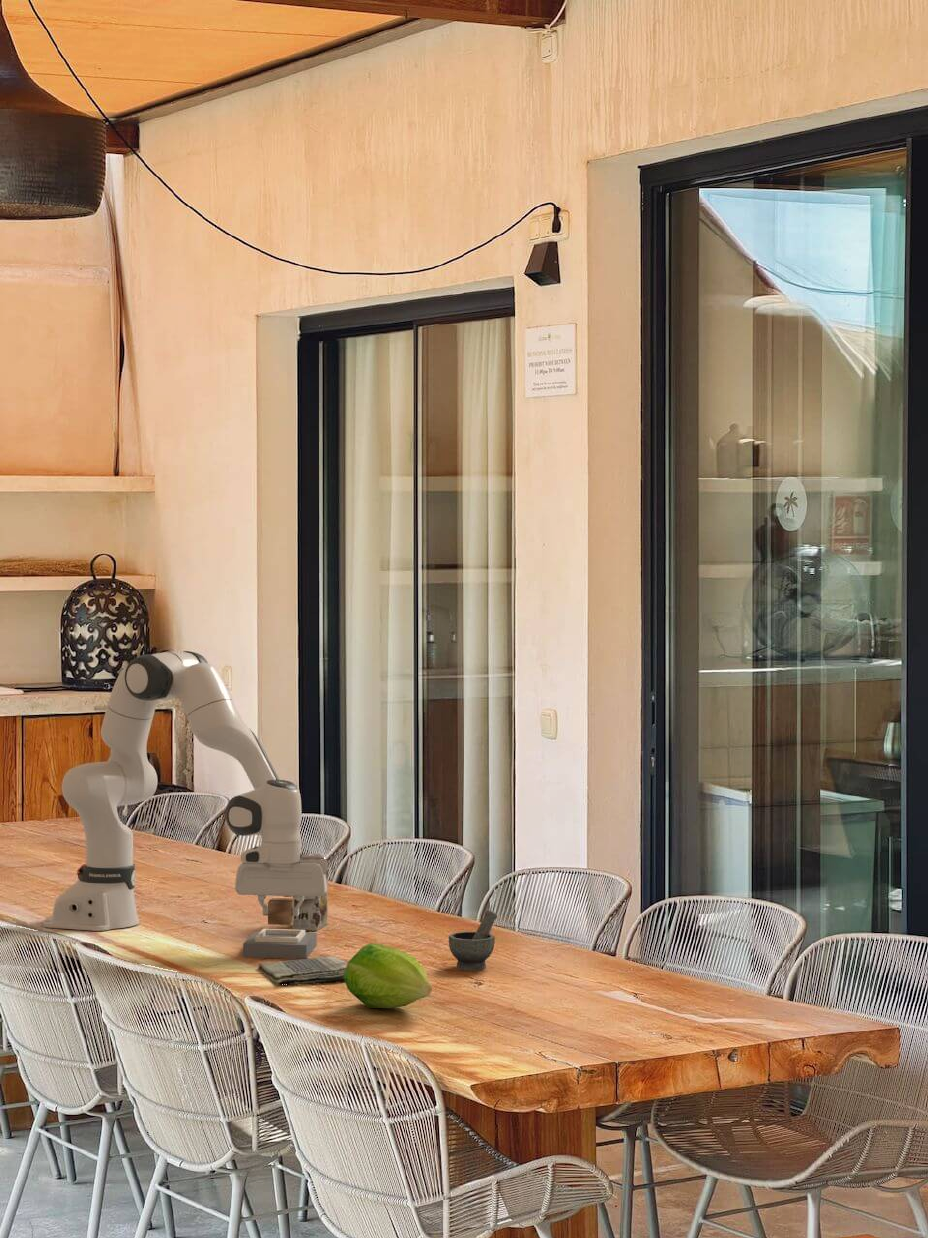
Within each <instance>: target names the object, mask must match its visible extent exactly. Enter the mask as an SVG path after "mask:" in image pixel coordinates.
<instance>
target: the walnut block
mask: <svg viewBox="0 0 928 1238" xmlns="http://www.w3.org/2000/svg"><path fill="white" fill-rule="evenodd" d="M267 906H268V915H267V925H273V926H274V925H276V926H279V925H281V926H282V925H283V926H290V925H292V924H293V921H294V916H292V915H291V913H292V912H291V908H292V907H294V899H293V897H292V898H291V897H290V898H288V897H287V898H286V897H285V898H284V897H283V898H282V897H281V898H280V897H271V899H269V900H268V901H267Z"/></svg>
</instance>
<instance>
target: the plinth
mask: <svg viewBox="0 0 928 1238" xmlns="http://www.w3.org/2000/svg"><path fill="white" fill-rule="evenodd" d="M317 934H318V933H317V932H307V931H306V930H294V929H285V928H283V929H279V928H262V929H261V931H260V930H259V931H257V930H255V931H254V932H253V933H252V934H251V935H250V936H249V937H248V938H247V939H246V940H245V941H244V942H243V943H242V946H243V947H242V957H243V958H261V959H262V958H265V959H266V958H267V959H272V958H273V959H296V960H298V959H299V960H301V959H308V958H309V956H310V955H311V954H312V952H313V951H314V950H315V948H317V943H318V941H317Z"/></svg>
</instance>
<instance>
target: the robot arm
mask: <svg viewBox="0 0 928 1238" xmlns="http://www.w3.org/2000/svg"><path fill="white" fill-rule="evenodd" d="M174 699H177V700H178V701H179V702H180V703H181V705H182V708H183V710H184V713H185V716H186V718H187V721H188V724H189V727H190V729H191V731H192V733H193V734H194V736H195V737H196V739H197V741H198V742H200V744H202V745H203V746H205V747H207V748H210V749H213V750H217V751H219V752H221V753H225V754H226V755H229V756H231V757H232V758H234V759H235V760H237V761H238V763H239V764H240V765H241V767H242V769H243V770H244V772H245V773H246V776H247V778H248V780H249V782H250V783H251V785H252V787H253V790H249V791H247V792H244V793H241V794H238V795H235V796H233V797H231V799H230V800H229V801H228V802H227V805H226V807H225V814H224V815H225V822H226V824H227V827H228V828H229V829H230V831H231V832H232V833H233V834H235V835H237V836H241V837H252V836H253V837H254V836H260V837H261V845H259V846H257V845H256V846H254V847H251V848H248V849H246V850H244V851H243V852H242V853H241V854H240V861H241V863H240V864H239V865H238V867H237V871H236V875H235V883H234V884H235V886H234V890H235V892H236V893H237V895H240V896H257V901H258V903H259V904H260V906H261V908H262V916H268V904H267V903H266V901H265V900H266V898H267V896H272V897H273V896H277V897H278V896H279V897H280V896H281V897H282V896H283V897H293V896H297V901H299V902H298V904H297V906H296V907H292V908H291V912H292V913H291V915H292V916H299V907H300V906H301V904H302V902H303V901H304V896H317V897H321V896H323V895H324V894H325V893H326V891H327V883H326V874H325V873H326V872H327V870H328V871H329V861H328V862H327V860H326V858H327V857H325V856H323V855H321V854H318V853H317V854H316V853H315V854H310V853H302V836H301V832H300V830H301V824H302V819H303V815H302V811H303V809H302V798H301V793H300V792H301V791H300V788H299V787H298V785H297V784H295V783H294V782H292V781H289V780H284V779H280V777H279V776H278V774H277V772H276V771H275V768H274V767H273V765H272V762H271V761H270V759H269V757H268V755H267V754H266V752H265V750H264V748H263V746H262V744H261V742H260V740H259V738H258V737H257V736H256V734H255V733H254V731H252V729H251V728H250V727H249V726H248V725H247V723H246V722H245V720H243V718H242V716H241V715H240V713H239V711H238V709H237V707H236V705H235V702H234V700H233V698H232V696H231V693H230V691H229V688H228V687H227V685H226V683H225V682H224V680H223V678H222V676H221V675H220V672H219V671H218V670H217V668H216V667H215V666H213V664H210V663H209V662H208V660H207V659H206V658H205V657H204V656H203V655H202V654H200V653H198V652H195V651H194V652H193V651H190V650H184V651H174V650H173V651H172V650H171V651H169V650H168V651H164V652H156V653H153V654H152V653H151V654H149V653H147V654H142V655H139V656H137V657H135V658H133V659H132V660H131V661H130V662H128V664H127V665H126V666H125V667H124V668H122V669H121V671H120V672H119V674H118V676H117V678H116V680H115V683H114V685H113V687H112V690H111V693H110V696H109V698H108V701H107V705H106V710H105V712H104V717H103V721H102V724H101V728H100V737H101V740H102V741H103V742H104V744H105V745H106V747H107V746H108V747H109V748H110V755H109V758H108V759H107V761H106V760H105V761H96V762H87V763H83V764H80V765H77V766H75V767H73V768H69V770H67V771H66V773H65V774H64V776H63V779H62V782H61V791H62V796H63V798H64V800H65V802H66V803H67V804H68V805H69V806H70V807H72V809H74V810H75V812H76V814H78V816H79V819H80V821H81V822H82V826H83V829H84V836H85V862H86V863H83V864H82V865H80V867H79V868H78V869H77V870H76V876H77V878H78V880H77V881H76V882H75V883H73V884H72V885H71V886H69V887H68V888H67V889H66V890H64V891H63V892H62V893H61V894H60V895H59V896H57V898H56V899H55V901H54V905H53V910H52V915H50V916H47V917H45V918H44V919H43V922H42V926H43V928H51V929H52V928H54V929H66V930H68V929H69V930H82V931H94V932H95V931H96V932H101V931H108V930H113V929H115V930H116V929H124V928H129V927H134V926H136V925H139V924H140V921H141V920H140V918H139V915H138V911H137V906H136V897H135V887H136V864H135V863H134V833H133V831H132V829H131V828H130V827H129V826H128V825H126V824H124V823H122V821H121V819H120V817H119V814H118V807H122V806H131V805H136V804H139V803H141V802H144V801H146V800H149V799H151V798H152V797H153V796H154V795H155V793H156V792H157V791H156V790H157V787H158V774H157V771H156V769H155V767H153V765H152V764H151V763H150V762H149V759H148V752H147V747H148V746H147V745H148V738H149V735H150V732H151V731H150V730H151V728H152V722H153V719H154V715H155V711H156V707H157V703H158V701H168V700H174ZM321 858H323V859H321Z"/></svg>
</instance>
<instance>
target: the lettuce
mask: <svg viewBox="0 0 928 1238" xmlns="http://www.w3.org/2000/svg"><path fill="white" fill-rule="evenodd" d="M344 979H345V981H344V982H345V986H346V989H347V990H348V991H349V992H350V993H351V994H352V995H353V996H354V997H355V998H356V999H357V1000H359V1001H360V1002H361V1003H362V1004H363V1005H364V1006H366V1007H367V1008H368V1009H395V1008H401V1007H406V1006H409V1005H411V1004H413V1003H415V1002H416V1001H418V1000H420V999H421V1000H422V999H424V998H427V997H429V996H430V995H431V993H432V990H433V986H432V983H431V982H430V980H429V978H428V975H427V972H426V971H425V969H424V967H423V966H422V965H421V964H420V962H419V961H418V960H417V958H416V957H414V956H413V955H410V954H408V953H406V952H404V951H401V950H400V949H398V948H396V947H391V946H390V947H389V946H385V945H383V944H380V943H375V942H372V943H371V942H370V943H368V944H365V945H363V946H362V947H361V948H360V949H359V950H358V951H357V952H356V953H355V954H354V955H353V956H352V958H351V959H349V961H348V962H347V967H346V971H345V974H344Z"/></svg>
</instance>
